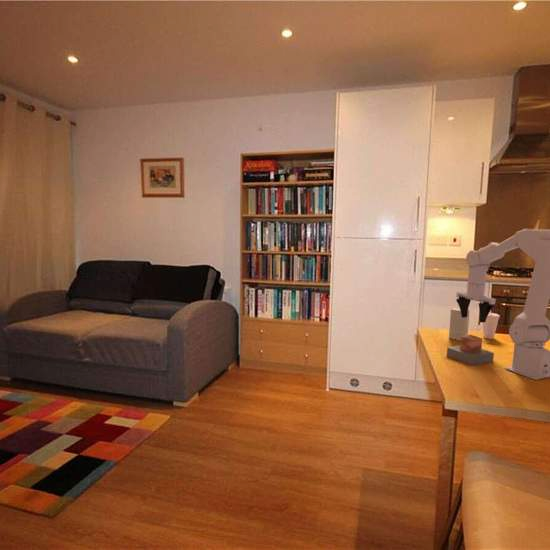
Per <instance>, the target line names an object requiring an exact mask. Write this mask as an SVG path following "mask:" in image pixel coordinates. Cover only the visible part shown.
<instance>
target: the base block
mask: <svg viewBox="0 0 550 550" xmlns="http://www.w3.org/2000/svg"><path fill="white" fill-rule="evenodd" d="M460 345H461V344H460ZM460 345H453V346H447V348H446V356H447V357H449V358H451V357H452V359H455V360H457V361H460V362H462V363H465V364H467V365H469V366H477V365H482V364H488V363H493V362H494V356H495V353H494V352H492V351H489V350H486V349H483V348H481V351H480V352H474V353H471V352H468V351H465V350H462V349H460Z"/></svg>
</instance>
